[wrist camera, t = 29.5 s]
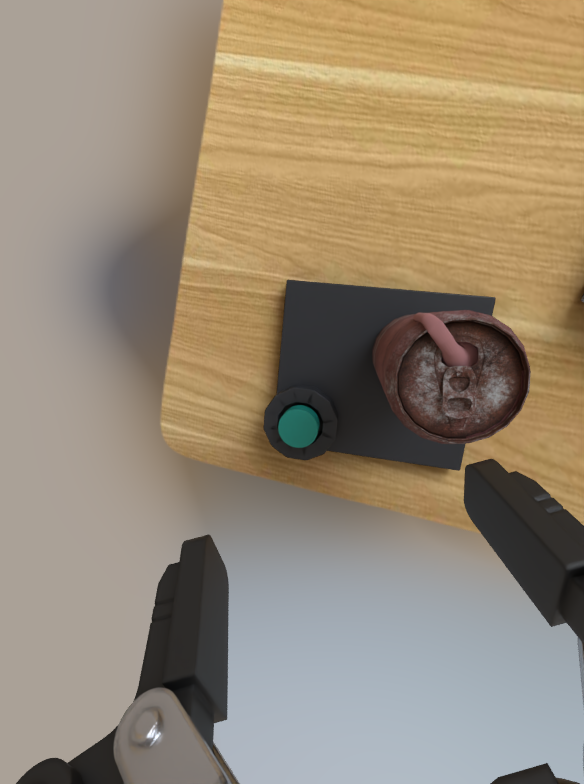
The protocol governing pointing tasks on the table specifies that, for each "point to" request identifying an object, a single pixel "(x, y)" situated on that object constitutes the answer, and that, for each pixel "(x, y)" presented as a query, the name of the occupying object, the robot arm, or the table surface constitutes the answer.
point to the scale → (352, 370)
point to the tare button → (299, 426)
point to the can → (452, 374)
